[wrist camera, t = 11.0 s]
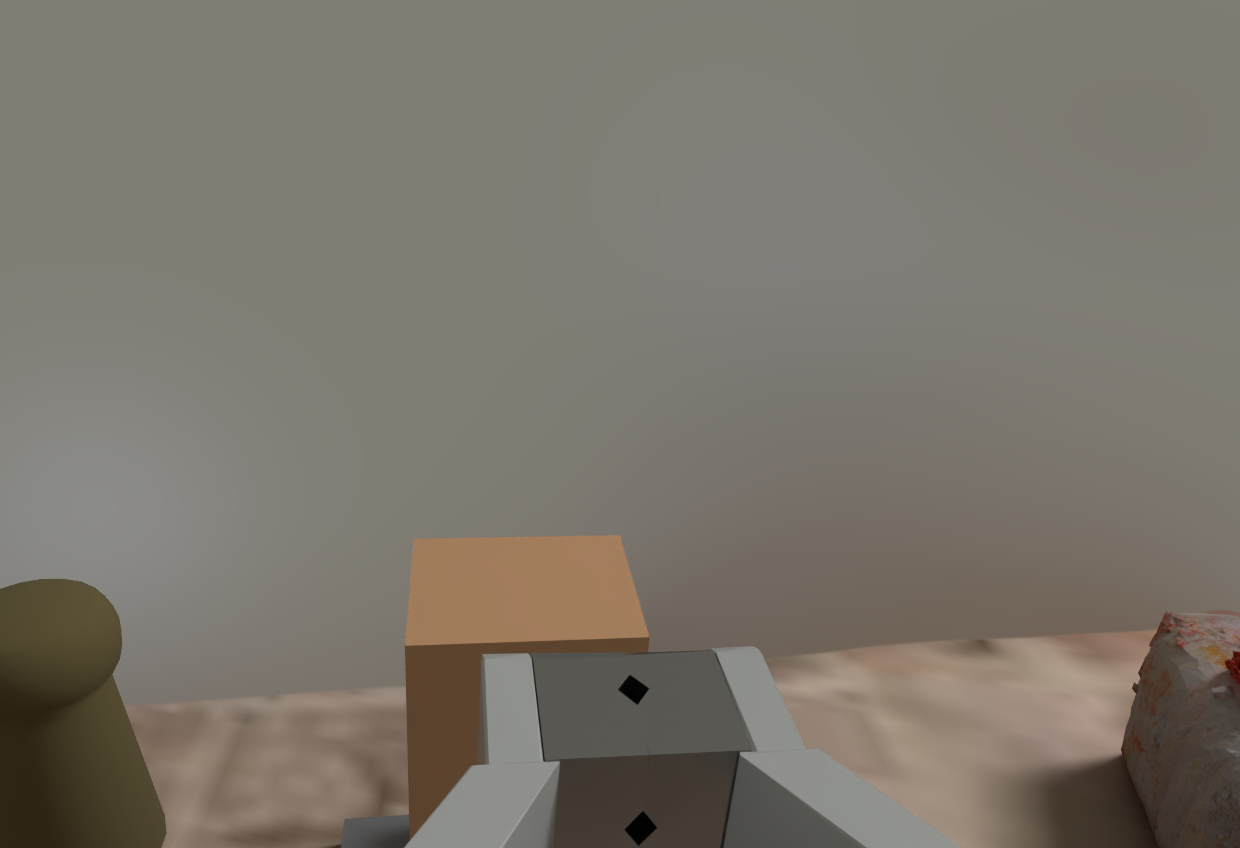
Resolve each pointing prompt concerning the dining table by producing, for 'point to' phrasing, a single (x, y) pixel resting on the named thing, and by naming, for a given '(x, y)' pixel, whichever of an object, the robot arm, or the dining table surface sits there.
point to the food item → (1189, 732)
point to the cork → (68, 726)
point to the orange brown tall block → (499, 633)
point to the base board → (376, 832)
